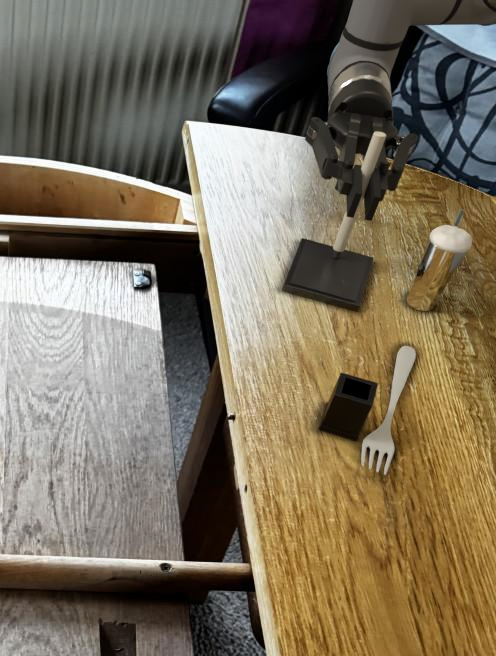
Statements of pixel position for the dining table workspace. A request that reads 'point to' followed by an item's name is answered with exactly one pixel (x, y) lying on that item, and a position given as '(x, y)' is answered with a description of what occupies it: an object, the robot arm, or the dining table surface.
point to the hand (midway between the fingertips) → (363, 207)
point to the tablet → (328, 275)
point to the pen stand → (348, 406)
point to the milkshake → (438, 264)
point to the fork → (389, 412)
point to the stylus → (367, 172)
